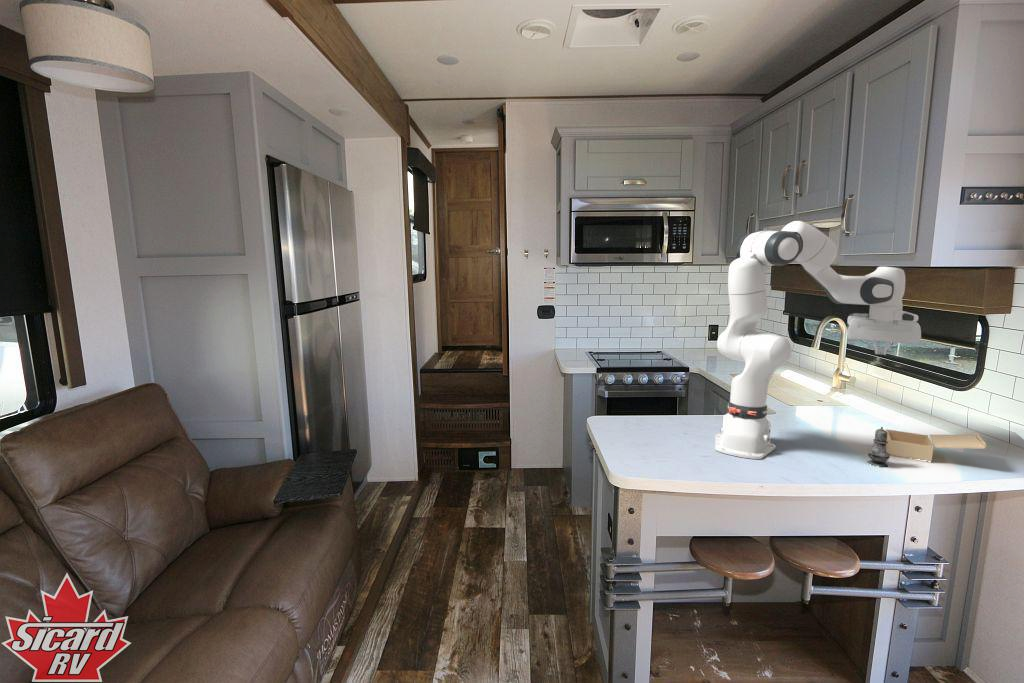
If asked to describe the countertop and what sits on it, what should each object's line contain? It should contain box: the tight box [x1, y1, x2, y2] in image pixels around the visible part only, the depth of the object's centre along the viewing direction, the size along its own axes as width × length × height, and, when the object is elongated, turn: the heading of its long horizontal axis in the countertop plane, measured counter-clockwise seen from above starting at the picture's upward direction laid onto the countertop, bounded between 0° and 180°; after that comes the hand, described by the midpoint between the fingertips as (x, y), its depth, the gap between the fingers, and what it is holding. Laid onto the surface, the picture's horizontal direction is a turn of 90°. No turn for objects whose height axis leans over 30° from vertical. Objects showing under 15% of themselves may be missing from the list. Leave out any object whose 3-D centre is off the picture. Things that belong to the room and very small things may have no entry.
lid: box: [928, 432, 987, 450], centre depth 152 cm, size 14×12×1 cm
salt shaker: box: [866, 426, 892, 468], centre depth 148 cm, size 6×6×12 cm
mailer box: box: [885, 428, 934, 461], centre depth 159 cm, size 14×11×5 cm
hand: (880, 354), depth 166 cm, fingers closed
